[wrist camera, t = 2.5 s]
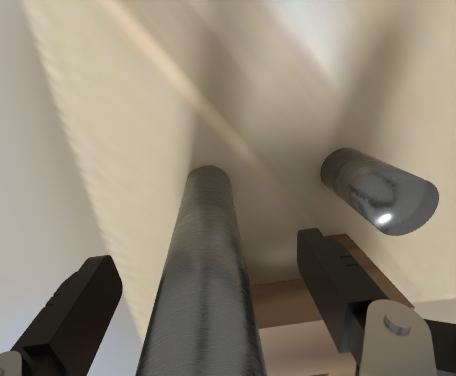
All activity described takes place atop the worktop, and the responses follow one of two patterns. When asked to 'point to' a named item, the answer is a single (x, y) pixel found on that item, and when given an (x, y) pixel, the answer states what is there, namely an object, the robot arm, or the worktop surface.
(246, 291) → the long pin
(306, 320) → the wooden square-hole block
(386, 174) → the short pin
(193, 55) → the worktop surface
